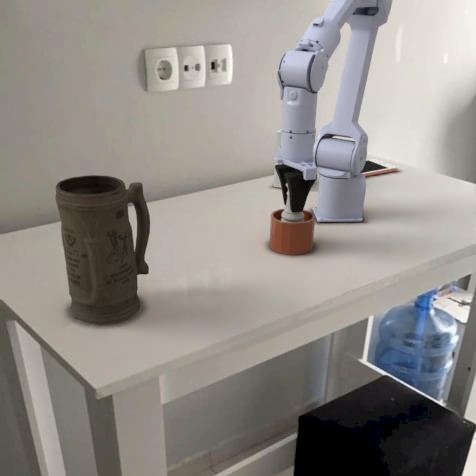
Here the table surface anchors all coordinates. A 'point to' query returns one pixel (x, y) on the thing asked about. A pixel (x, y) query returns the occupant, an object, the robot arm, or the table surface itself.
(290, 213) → the rook chess piece
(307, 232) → the cup
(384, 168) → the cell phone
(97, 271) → the beer stein
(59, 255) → the table surface
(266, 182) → the table surface
